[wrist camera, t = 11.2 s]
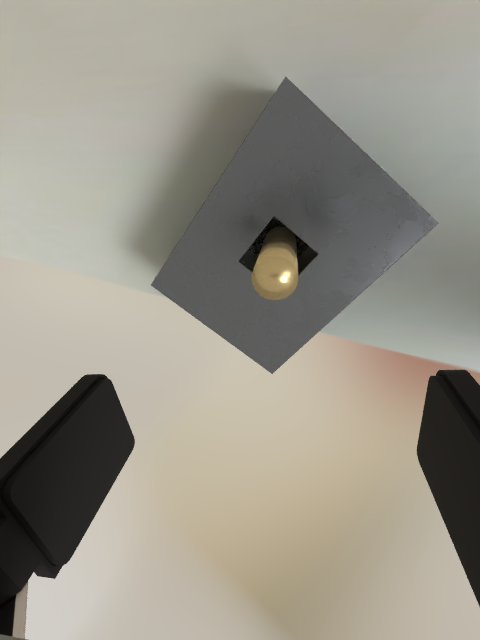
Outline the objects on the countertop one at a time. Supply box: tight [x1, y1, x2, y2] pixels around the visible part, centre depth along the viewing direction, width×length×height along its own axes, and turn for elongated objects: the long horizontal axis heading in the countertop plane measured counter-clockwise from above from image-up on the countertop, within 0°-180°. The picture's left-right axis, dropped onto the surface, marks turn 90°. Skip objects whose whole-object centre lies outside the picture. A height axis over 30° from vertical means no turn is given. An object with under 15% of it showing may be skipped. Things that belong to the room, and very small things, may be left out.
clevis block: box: [151, 77, 438, 374], centre depth 26 cm, size 14×18×5 cm
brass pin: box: [252, 227, 298, 300], centre depth 24 cm, size 3×3×10 cm
